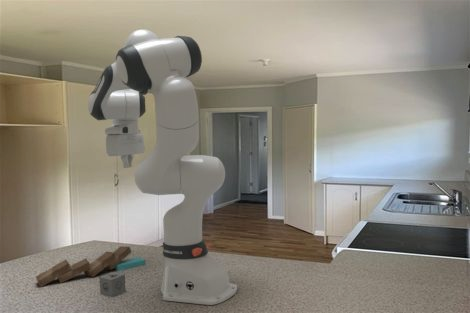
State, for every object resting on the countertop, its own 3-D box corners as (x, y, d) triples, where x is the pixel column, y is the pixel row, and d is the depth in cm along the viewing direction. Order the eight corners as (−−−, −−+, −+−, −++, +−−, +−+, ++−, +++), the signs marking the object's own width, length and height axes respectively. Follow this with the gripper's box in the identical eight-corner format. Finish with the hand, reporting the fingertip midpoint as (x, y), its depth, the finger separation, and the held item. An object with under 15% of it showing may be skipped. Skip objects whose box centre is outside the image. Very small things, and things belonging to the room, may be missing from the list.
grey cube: (112, 297, 116) (111, 279, 115) (100, 294, 118) (99, 277, 118) (125, 291, 120) (124, 274, 120) (113, 288, 123) (113, 271, 122)
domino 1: (38, 282, 130) (68, 264, 134) (40, 287, 125) (71, 268, 130) (35, 276, 129) (65, 259, 134) (37, 281, 125) (68, 263, 130)
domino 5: (112, 269, 142) (139, 262, 148) (118, 272, 138) (145, 266, 144) (112, 262, 142) (139, 256, 148) (117, 266, 138) (145, 259, 144)
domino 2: (57, 279, 132) (88, 264, 137) (60, 283, 128) (91, 268, 133) (55, 273, 132) (85, 258, 137) (57, 277, 128) (89, 262, 133)
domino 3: (85, 275, 135) (109, 256, 142) (93, 276, 132) (117, 258, 139) (82, 269, 135) (106, 251, 142) (90, 271, 131) (114, 252, 138)
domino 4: (102, 269, 140) (122, 251, 148) (111, 269, 137) (131, 251, 145) (99, 263, 140) (120, 246, 147) (108, 264, 137) (129, 246, 144)
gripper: (133, 129, 158) (134, 165, 159) (101, 129, 139) (103, 170, 139) (147, 129, 157) (149, 165, 157) (118, 128, 137) (120, 169, 138)
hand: (127, 167), depth 148 cm, fingers closed
